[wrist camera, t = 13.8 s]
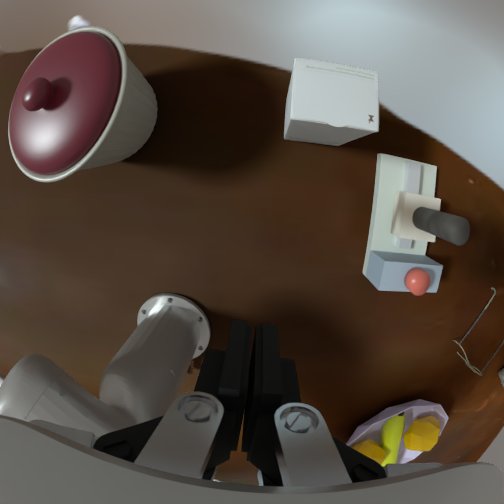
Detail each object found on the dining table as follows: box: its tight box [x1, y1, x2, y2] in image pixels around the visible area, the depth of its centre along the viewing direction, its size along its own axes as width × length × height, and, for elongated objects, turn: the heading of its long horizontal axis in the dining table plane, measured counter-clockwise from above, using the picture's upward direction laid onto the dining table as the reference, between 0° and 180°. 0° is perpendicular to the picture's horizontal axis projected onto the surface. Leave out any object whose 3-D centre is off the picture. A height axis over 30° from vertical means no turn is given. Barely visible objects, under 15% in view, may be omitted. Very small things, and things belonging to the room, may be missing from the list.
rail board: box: [363, 153, 443, 292], centre depth 35 cm, size 18×10×7 cm, turn 176°
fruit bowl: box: [346, 399, 448, 466], centre depth 45 cm, size 28×27×11 cm
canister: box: [8, 26, 158, 182], centre depth 26 cm, size 18×18×21 cm
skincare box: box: [284, 58, 379, 146], centre depth 28 cm, size 8×7×16 cm
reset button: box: [404, 267, 431, 295], centre depth 32 cm, size 3×3×2 cm
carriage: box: [391, 191, 470, 246], centre depth 30 cm, size 6×6×14 cm
